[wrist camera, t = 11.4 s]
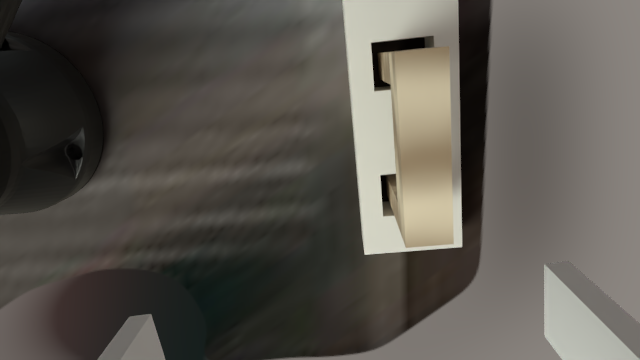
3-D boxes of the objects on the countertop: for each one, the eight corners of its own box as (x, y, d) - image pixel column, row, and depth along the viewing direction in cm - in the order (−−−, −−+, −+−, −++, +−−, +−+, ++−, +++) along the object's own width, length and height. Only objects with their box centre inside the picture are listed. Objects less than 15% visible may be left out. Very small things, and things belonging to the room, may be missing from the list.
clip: (377, 52, 35) (394, 52, 24) (414, 48, 34) (449, 46, 24) (386, 193, 38) (405, 247, 27) (421, 190, 38) (453, 243, 27)
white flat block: (342, 2, 34) (342, -3, 30) (445, -10, 33) (457, -17, 30) (362, 237, 39) (364, 254, 36) (451, 230, 39) (462, 247, 35)
